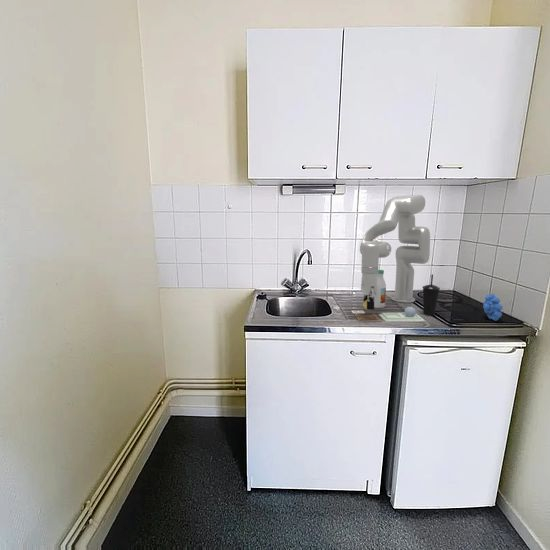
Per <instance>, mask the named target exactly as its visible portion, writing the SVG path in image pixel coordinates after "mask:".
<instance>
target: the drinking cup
mask: <svg viewBox="0 0 550 550" xmlns="http://www.w3.org/2000/svg"><path fill="white" fill-rule="evenodd" d="M430 277H431V278H430V284H427V285H423V286H422V295H423V296H422V301H423V303H422V304H423V305H422V306H423V307H422V308H423V309H422V310H423V314H424V315H425V316H429V317H430V316H431V317H432V316H435V314H436V309H437V302H438V299H439V293H440V290H441V288H440V286H437V285H435V284H433V279H434V273H433V274H431V275H430Z"/></svg>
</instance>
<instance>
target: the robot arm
mask: <svg viewBox="0 0 550 550" xmlns="http://www.w3.org/2000/svg"><path fill="white" fill-rule="evenodd" d="M425 207H426V198H425V197H424V196H423V195H421V194H417V195H416V194H415V195H414V194H412V195H411V194H410V195H400V196H399V195H398V196H394V197H391V198H390V199H388V200H387V201H386V204H385V206H384V208H383V210H382V213H381V216H380V218H379V221H378V222H377V223H376V224H374V225H372V226H371V227H370V228H369V229H368V230H367V231H366V232H365V233H364V235H363V237H362V239H361V242H360V244H359V245H360V246H359V252H360V254H361V267H360V268H361V272H360V273H361V285H360V291H361V292H362V293H363V302H364V301H366V300H368V301H367V311H371V310H374V309H375V308H374V299H375V295H376V292H377V275H376V274H378V270H379V262H380V261H379V259H381V258H387V257H388V256H390V254H391V252H392V246H391V244H390V243H389V242H386V241H377V240H376V241H375V239H377V238H378V237H380V236H383V235H385V234H386V235H387V234H389V233H390V232H393V231H394V230H395V229H396V228H397V230H398V233H397V234H398V241H399V243H401V244H406V245H400V246H398V247H396V249H395V261H396V262H395V263H396V271H395V283H394V284H395V285H394V295H393V296H392V297H391V300H392V301H394V302H397V303H402V304H403V303H405V304H406V303H408V304H410V303H414V301H415V302H416V298H415V297H413V294H414V281H415V280H414V277H415V268H414V267H413V265H412V264H417V265H418V264H419V265H423V264H424V265H425V264H427V263H428V262H429V260H430V254H431V232H430V230H429V228H428V227H427V226H416V217H415V215H416V214H417V215H418V214H419V213H421V212H423V210H424V209H425ZM397 226H398V227H397ZM407 244H408V245H407ZM417 245H418V246H417ZM370 294H371V295H370ZM370 296H371V297H370Z"/></svg>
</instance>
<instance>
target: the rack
mask: <svg viewBox="0 0 550 550" xmlns="http://www.w3.org/2000/svg"><path fill="white" fill-rule="evenodd" d="M378 316H379V318H382V320H383V321H384V322H386V323H387V322H389V323H390V322H391V323H393V322H396V323H397V322H406V323H407V322H409V323H410V322H413V323H414V322H417V323H418V322H422V323H423V322H426V320H425V319H424V318H423V317H421V316H420V315H419V314H417V313H416V314H415V316H413V317H407V316H406V315H405V313H404V312H381V313H378Z"/></svg>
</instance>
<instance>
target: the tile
mask: <svg viewBox="0 0 550 550" xmlns="http://www.w3.org/2000/svg"><path fill="white" fill-rule="evenodd" d="M351 312H352V314H353V315H354V314H366V312H365V311H364V310H351Z"/></svg>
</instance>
